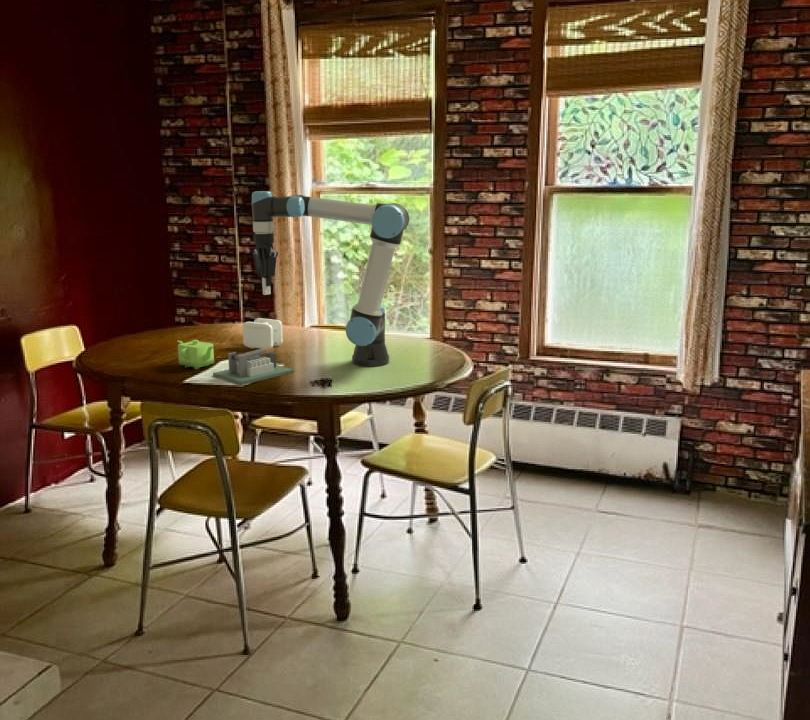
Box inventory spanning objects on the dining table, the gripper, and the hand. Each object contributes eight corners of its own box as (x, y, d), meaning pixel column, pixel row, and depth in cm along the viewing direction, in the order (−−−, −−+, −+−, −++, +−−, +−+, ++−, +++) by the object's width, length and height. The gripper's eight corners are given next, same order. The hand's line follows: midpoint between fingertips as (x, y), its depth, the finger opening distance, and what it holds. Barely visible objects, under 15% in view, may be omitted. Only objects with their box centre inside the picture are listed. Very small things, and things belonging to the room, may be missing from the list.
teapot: (215, 369, 305) (214, 343, 303) (180, 372, 301) (178, 345, 299) (212, 360, 319) (211, 335, 317) (178, 363, 315) (176, 337, 313)
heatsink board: (293, 372, 302) (292, 349, 299) (241, 384, 284) (240, 360, 282) (264, 364, 313) (263, 342, 311) (213, 375, 296) (211, 352, 294)
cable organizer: (284, 346, 345) (283, 320, 342) (270, 351, 336) (269, 324, 333) (257, 343, 351) (256, 317, 348) (242, 347, 342) (241, 321, 339)
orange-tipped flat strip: (275, 351, 302) (275, 347, 301) (239, 362, 290) (239, 357, 290) (267, 350, 305) (267, 345, 305) (231, 360, 293) (231, 355, 293)
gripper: (282, 232, 297) (285, 294, 303) (260, 231, 305) (263, 291, 311) (267, 234, 292) (270, 297, 297) (244, 232, 300) (248, 294, 305)
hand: (266, 294), depth 304 cm, fingers closed
